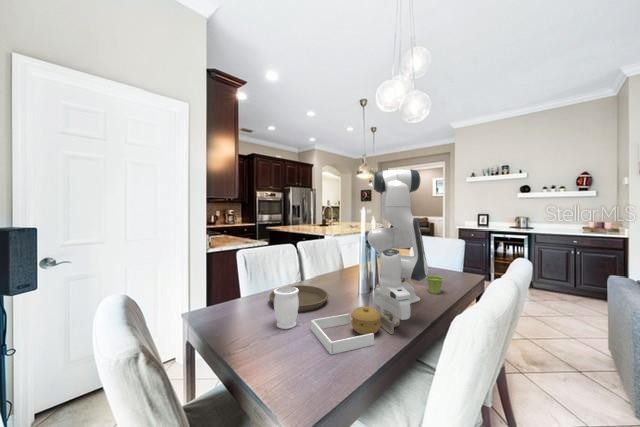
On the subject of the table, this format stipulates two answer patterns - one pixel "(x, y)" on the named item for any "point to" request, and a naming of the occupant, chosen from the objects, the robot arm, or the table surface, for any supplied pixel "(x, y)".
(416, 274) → the robot arm
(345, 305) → the table surface
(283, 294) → the jar
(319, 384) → the table surface
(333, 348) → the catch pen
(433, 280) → the plant pot
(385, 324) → the scraper
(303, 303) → the plant saucer
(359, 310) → the pot
